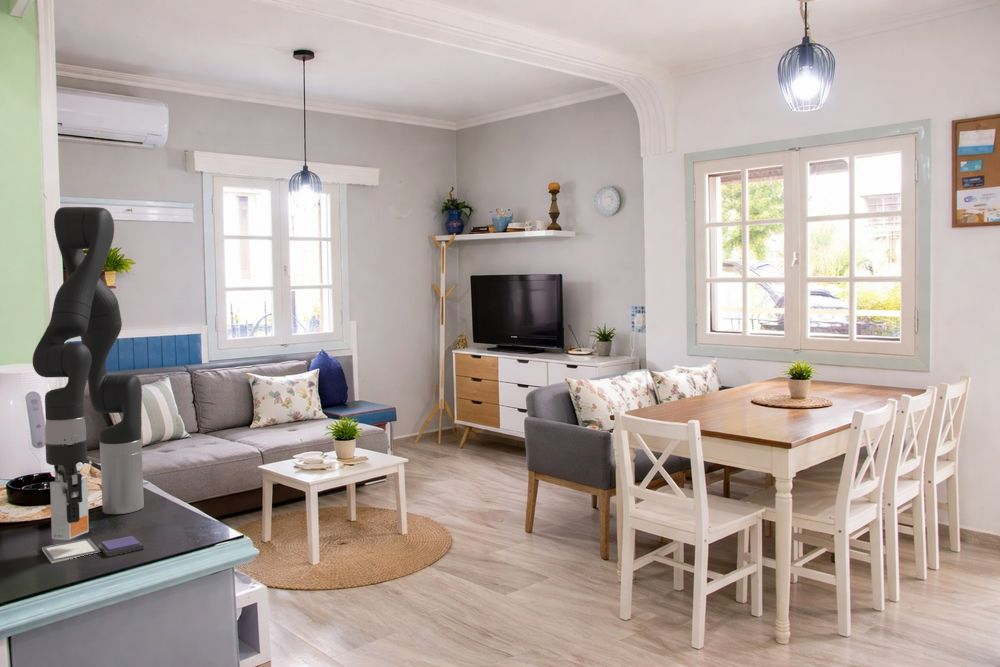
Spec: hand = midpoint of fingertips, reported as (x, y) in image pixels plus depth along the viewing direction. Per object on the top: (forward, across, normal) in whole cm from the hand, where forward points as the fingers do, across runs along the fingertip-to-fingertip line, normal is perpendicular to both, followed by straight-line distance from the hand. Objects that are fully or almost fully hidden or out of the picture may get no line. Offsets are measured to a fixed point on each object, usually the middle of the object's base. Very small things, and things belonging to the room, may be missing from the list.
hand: (69, 517), depth 166 cm
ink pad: (+7, +5, +9) cm, 12 cm away
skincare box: (+4, 0, 0) cm, 4 cm away
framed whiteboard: (+7, 0, 0) cm, 7 cm away
